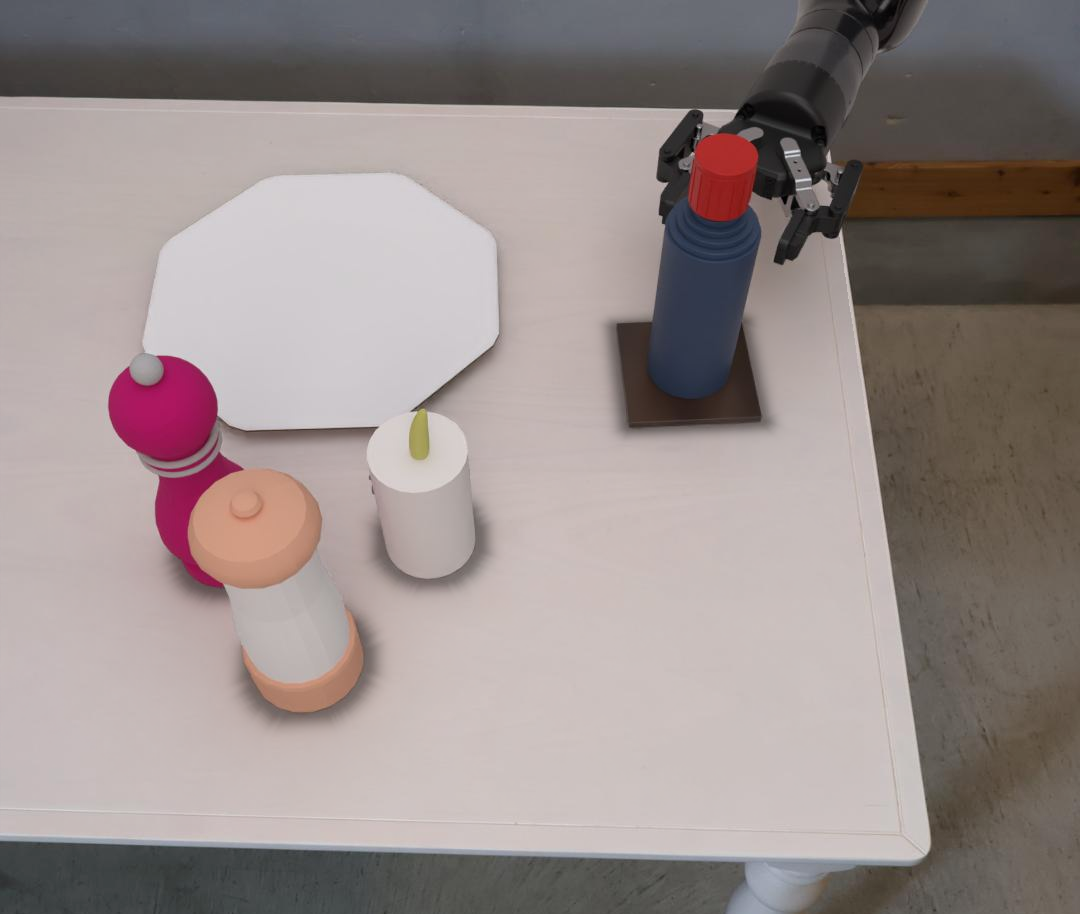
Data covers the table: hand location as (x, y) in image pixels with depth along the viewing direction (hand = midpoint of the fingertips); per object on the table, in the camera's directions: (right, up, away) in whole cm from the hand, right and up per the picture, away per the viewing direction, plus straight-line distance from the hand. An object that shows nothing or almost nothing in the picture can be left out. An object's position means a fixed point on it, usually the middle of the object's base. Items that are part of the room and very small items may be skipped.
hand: (723, 235), depth 78 cm
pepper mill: (-35, -22, -1) cm, 41 cm away
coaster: (-2, -9, +8) cm, 12 cm away
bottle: (-1, -8, +7) cm, 11 cm away
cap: (-1, +1, -6) cm, 7 cm away
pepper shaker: (-28, -30, -5) cm, 41 cm away
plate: (-30, -2, +12) cm, 32 cm away
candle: (-21, -21, 0) cm, 30 cm away
